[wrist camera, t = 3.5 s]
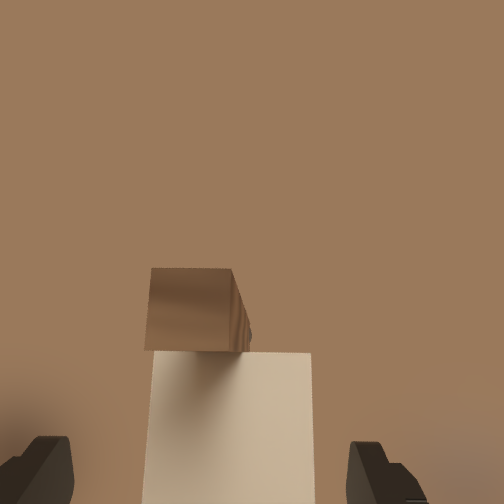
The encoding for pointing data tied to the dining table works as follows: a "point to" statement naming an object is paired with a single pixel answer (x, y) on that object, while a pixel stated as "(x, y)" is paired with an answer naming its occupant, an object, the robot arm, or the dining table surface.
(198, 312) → the lever handle
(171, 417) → the post
